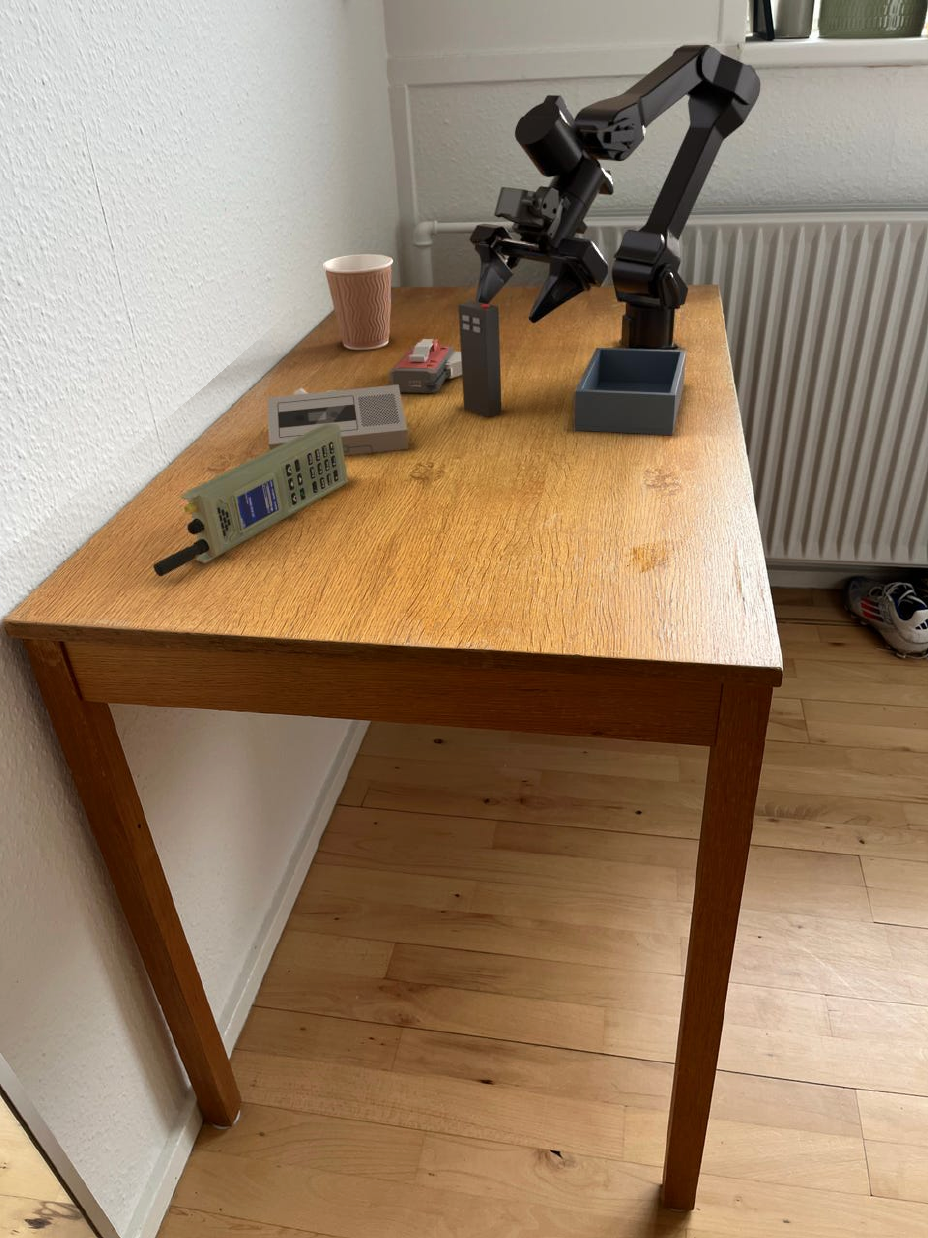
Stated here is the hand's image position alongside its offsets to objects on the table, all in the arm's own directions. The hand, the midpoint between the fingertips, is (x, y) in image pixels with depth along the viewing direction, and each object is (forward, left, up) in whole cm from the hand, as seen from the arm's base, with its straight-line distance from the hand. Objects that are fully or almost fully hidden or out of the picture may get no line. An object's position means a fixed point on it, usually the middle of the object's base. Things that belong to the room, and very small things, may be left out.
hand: (503, 314), depth 116 cm
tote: (-13, +9, -11) cm, 19 cm away
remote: (+4, +2, -11) cm, 12 cm away
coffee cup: (+11, -33, -11) cm, 37 cm away
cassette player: (+23, +9, -10) cm, 27 cm away
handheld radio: (+35, +23, -11) cm, 43 cm away
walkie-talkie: (+5, -15, -11) cm, 19 cm away
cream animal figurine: (+23, -4, -11) cm, 26 cm away
